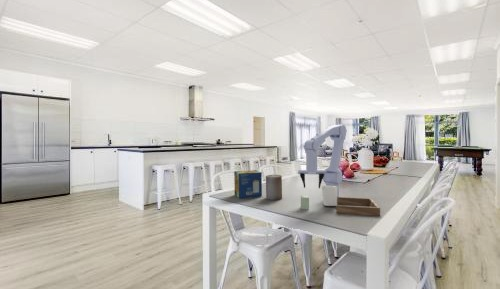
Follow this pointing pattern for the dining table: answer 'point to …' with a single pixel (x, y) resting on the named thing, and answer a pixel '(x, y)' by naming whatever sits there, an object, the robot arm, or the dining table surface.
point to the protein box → (248, 183)
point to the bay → (371, 210)
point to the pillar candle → (274, 187)
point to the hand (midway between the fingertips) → (311, 187)
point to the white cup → (329, 195)
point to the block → (304, 202)
